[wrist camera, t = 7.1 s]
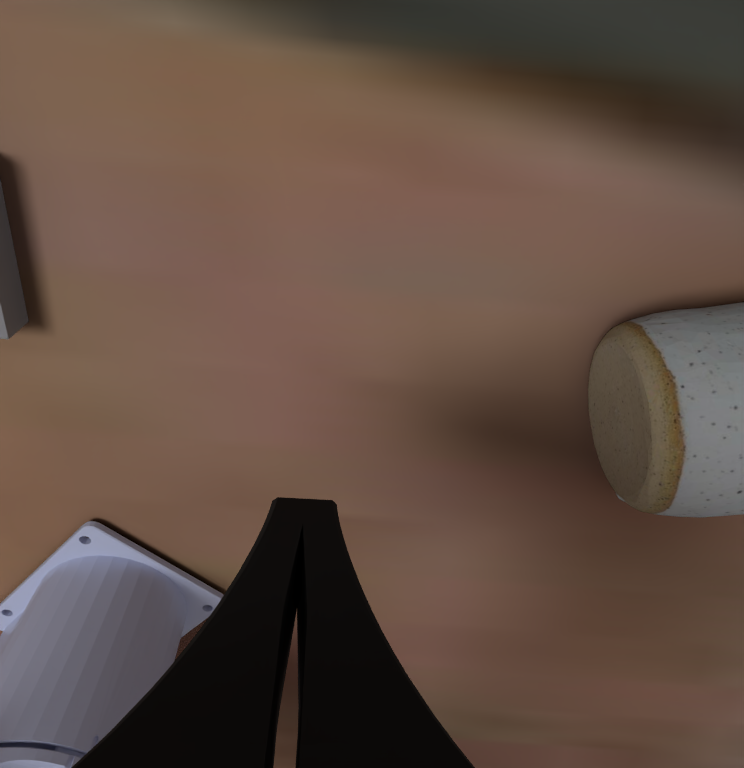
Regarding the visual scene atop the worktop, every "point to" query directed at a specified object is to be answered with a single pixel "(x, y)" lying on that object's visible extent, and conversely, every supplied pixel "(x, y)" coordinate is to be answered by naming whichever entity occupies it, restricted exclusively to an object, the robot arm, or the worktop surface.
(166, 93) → the worktop surface
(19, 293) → the tile
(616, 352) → the ceramic mug
